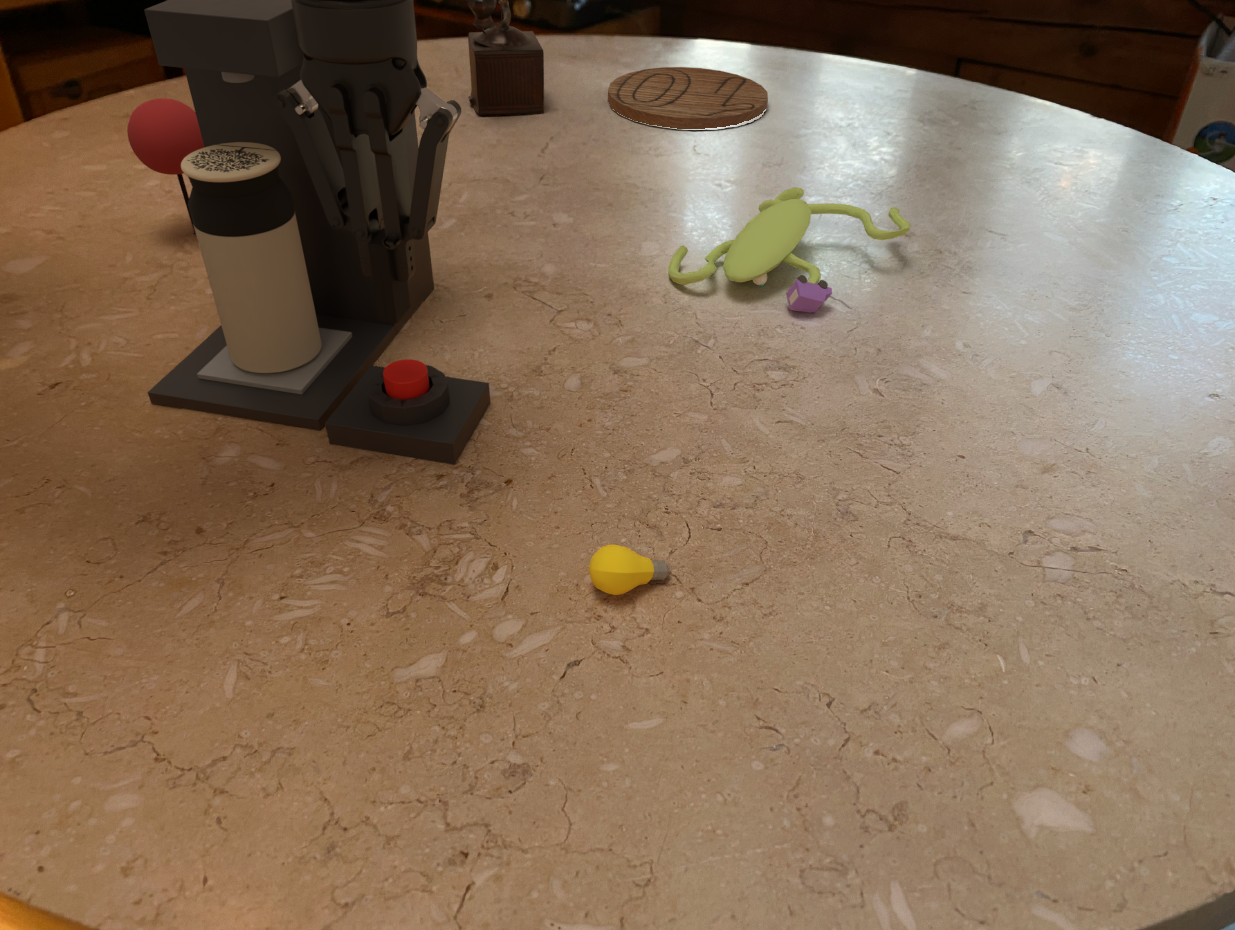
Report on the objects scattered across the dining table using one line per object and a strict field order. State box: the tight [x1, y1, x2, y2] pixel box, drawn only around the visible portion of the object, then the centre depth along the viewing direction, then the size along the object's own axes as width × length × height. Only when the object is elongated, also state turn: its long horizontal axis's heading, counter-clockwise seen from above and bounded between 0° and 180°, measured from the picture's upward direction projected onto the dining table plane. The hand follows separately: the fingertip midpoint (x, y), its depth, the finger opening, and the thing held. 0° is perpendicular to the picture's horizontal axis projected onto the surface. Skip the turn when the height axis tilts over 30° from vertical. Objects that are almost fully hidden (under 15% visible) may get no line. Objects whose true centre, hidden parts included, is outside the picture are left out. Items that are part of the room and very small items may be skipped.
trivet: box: [607, 66, 769, 129], centre depth 147 cm, size 25×25×2 cm
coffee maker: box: [144, 0, 435, 432], centre depth 81 cm, size 16×26×30 cm, turn 167°
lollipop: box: [126, 97, 204, 236], centre depth 103 cm, size 8×8×15 cm
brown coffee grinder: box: [466, 0, 545, 117], centre depth 138 cm, size 16×11×18 cm
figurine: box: [668, 186, 912, 314], centre depth 103 cm, size 18×27×6 cm
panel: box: [325, 364, 491, 466], centre depth 79 cm, size 11×9×4 cm
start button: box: [383, 358, 429, 400], centre depth 78 cm, size 4×4×2 cm
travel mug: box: [181, 142, 322, 373], centre depth 80 cm, size 8×8×18 cm
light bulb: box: [588, 543, 671, 596], centre depth 65 cm, size 3×6×4 cm, turn 106°
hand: (394, 313), depth 74 cm, fingers closed
